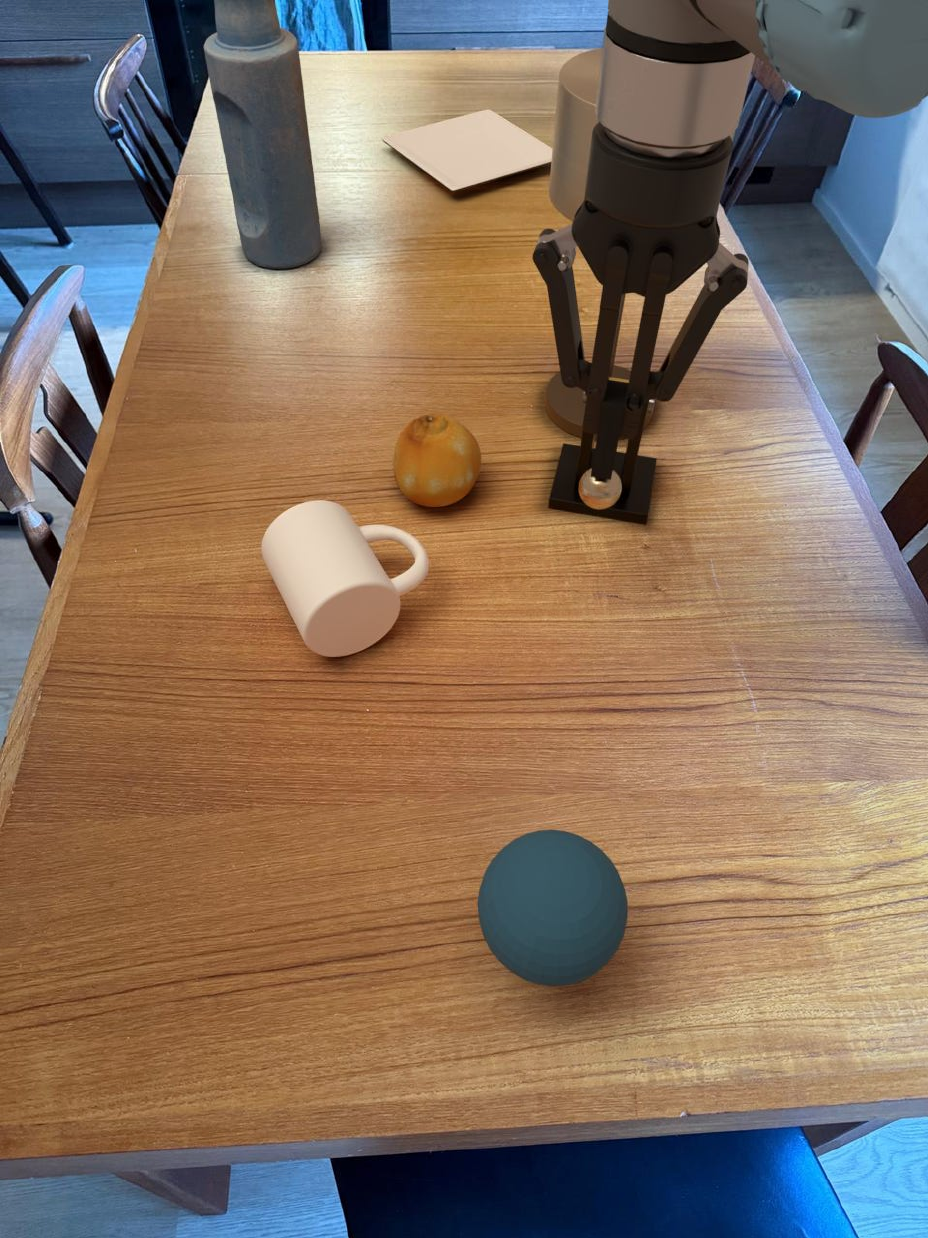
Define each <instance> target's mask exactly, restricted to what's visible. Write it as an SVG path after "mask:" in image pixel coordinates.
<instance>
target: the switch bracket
mask: <svg viewBox="0 0 928 1238" xmlns="http://www.w3.org/2000/svg"><path fill="white" fill-rule="evenodd" d="M654 371H655V370H650V372H654ZM586 399H587V396H586V394H585V392H583V398H582V403H586ZM654 402H655V403H656V399H651V400H648V401H647V402H645V403H644V405H643V408H642V412H641V417H640V421H639V426H638V431H637V435H636V436H635V437H634V439H633V440H632V439H627V443H626V444H627V445H626V450H625V452H621V451H616V456H615V461H614V466H613V470H614V471H615V472H616V473H617V474H618V476H619V478H620V480H621V484H622V491H621V495H620V497H619V499H618V500H617V502H616V503H615V504H613V505H612V506H610V507H608V508H606V509H594V508H591V507H589V506H588V505H586V504H585V503H584V502H583V500H582V499H581V497H580V494H579V482H580V479H581V477H582V476H583V474H584V473H585V472H586V471H588V470H589V469H591V468H592V465H593V459H594V453H595V447H594V446H595V443H596V442H595V435H596V434H592V433H586V432H584V429H583V431H582V438H580V445H577V444H571V443H565V442H563V444H562V446H561V450H560V454H559V459H558V461H557V466H556V470H555V474H554V478H553V482H552V486H551V490H550V494H549V497H548V505H547V508H548V509H553V510H559V511H563V512H564V511H565V512H569V513H577V514H582V515H588V516H592V517H593V516H594V517H598V518H599V517H600V518H604V519H605V518H606V519H611V520H615V521H616V520H617V521H623V522H629V523H634V524H639V525H645V526H646V525H647V523H648V519H649V514H650V513H649V512H650V507H651V502H652V500H651V499H652V495H653V487H654V481H655V475H656V474H655V473H656V468H657V462H658V460H657V459H658V458H657V457H652V456H646V455H640V454H639V451H640V446H641V441H642V437H643V432H644V429H645V428H644V423H645V418H646V414H647V413H652V412H653V413H654V411H653V407H654V408H655V406H654ZM643 428H644V429H643Z"/></svg>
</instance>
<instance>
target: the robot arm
mask: <svg viewBox="0 0 928 1238" xmlns="http://www.w3.org/2000/svg"><path fill="white" fill-rule="evenodd" d="M607 10H608V11H607V18H606V23H605V24H606V25H605V26H606V27H604V29H603V36H602V37H603V38H602V45H601V48H602V54H601V62H600V71H599V80H598V88H597V97H596V106H595V114H596V117H597V119H598V120H599V122H598V123H597V124H596V125H595V127H594V129H593V131H592V138H591V146H590V155H589V163H588V171H587V179H586V187H585V196H584V201H583V203H582V205H581V206H580V207H579V209H578V210H577V212H576V214H575V217H574V220H573V222H571V224H569V225H566V226H564V227H563V228H560V229H558V230H555V229H553V228H545V229H543V230H542V231H541V232H540V234H539V236H538V238H537V241H536V244H535V247H534V250H533V252H532V262H533V264H534V265H535V267H536V269H537V271H538V273H539V274H540V276H541V278H542V279H543V281H544V283H545V285H546V289H547V295H548V296H547V297H548V303H549V309H550V314H551V322H552V327H553V334H554V341H555V346H556V353H557V360H558V366H559V372H560V373H561V379H562V383H563V384H564V385H565V386H566V387H568V388H574V387H578V388H580V389H582V390H583V391H584V392H585V394H586V396H587V399H586V406H585V412H584V419H583V429H584V432H586V433H592V434H598V435H597V441H596V442H595V447H594V448H595V453H594V459H593V465H592V471H591V477H596V478H602V479H608V480H611V477H612V472H613V466H614V461H615V456H616V452H618V445H619V441H620V440H619V438H625V439H627V440H628V439H632V440H633V439H634V437H635V436H636V435H637V431H638V426H639V421H640V417H641V412H642V408H643V405H644V403H645V402H647V401H648V400H651V399H655V400H657V401H659V402H661V403H668V402H669V401H672V399H673V398H674V396H675V395H676V393H677V391H678V389H679V387H680V385H681V384H682V382H683V380H684V379H685V376H687V373H688V371H689V369H690V368H691V366H692V364H693V363H694V361H695V358H696V357H697V355H698V353H699V352H700V350H701V348H702V346H703V344H704V343H705V341H706V339H707V337H708V335H709V333H710V332H711V330H712V328H713V327H714V325H715V323H716V320H717V319H718V317H719V316H720V315H721V312H722V311H723V310H724V308H726V307H727V306H729V304H730V303H732V302H733V301H734V300H735V299H736V298H737V297H738V296H739V295H740V294H741V293H743V292H744V291H745V290H746V288H747V286H748V281H749V279H748V277H749V262H750V261H749V258H748V256H747V255H746V254H744V253H740V252H739V253H734V254H733V253H732V252H731V251H730V250H728V248H727V247H725V246H724V245H723V244H722V243H721V242H720V237H721V228H720V225H719V222H718V211H719V207H720V203H721V199H722V196H723V191H724V186H725V182H726V177H727V175H728V169H729V166H730V162H731V157H732V153H733V149H734V141H733V142H732V139H731V137H730V135H731V134H732V133H734V132H735V133H736V130H737V129H738V127H739V125H740V121H741V117H742V113H743V109H744V103H745V99H746V96H747V91H748V87H749V83H750V79H751V75H752V71H753V66H754V62H755V59H756V57H757V58H758V59H759V60H761V61H762V62H763V63H764V64H766V65H767V66H768V67H770V68H771V69H772V70H774V71H775V72H777V73H778V74H779V77H780V78H781V79H782V80H783V81H784V82H786V83H789V84H790V85H791V86H792V87H793V88H794V89H795V90H797V92H806V93H807V94H808V96H810V97H811V98H812V99H815V100H819V101H822V102H825V103H826V102H827V103H829V104H831V105H832V106H835V107H836V108H838V109H840V110H842V111H843V112H846V113H848V114H850V115H853V116H856V117H860V118H861V117H862V118H869V119H881V118H888V117H894V116H898V115H902V114H905V113H906V112H909V111H911V110H913V109H914V108H917V107H919V105H920V104H921V103H922V100H924V99H926V98H927V97H928V0H608V3H607ZM576 247H578V249H579V252H580V253H581V255H582V256H583V258H584V260H585V262H586V264H587V265H588V267H589V269H590V270H591V272H592V274H593V275H594V277H595V279H596V281H597V282H598V283H599V284H600V285H601V286H602V289H601V294H600V295H601V296H600V301H599V302H600V303H599V310H598V311H599V312H598V317H597V319H598V320H597V325H596V332H595V338H594V345H593V352H592V357H591V362H590V361H588V360H586V358H585V357H586V356H585V350H584V349H585V348H584V343H583V334H582V327H581V319H580V312H579V305H578V298H577V289H576V281H575V274H574V267H573V265H574V262H575V259H576V256H577V251H576ZM706 264H707V267H706V268H705V270H704V276H703V284H704V285H703V286H702V288H701V289H700V292H699V294H698V295H697V297H696V299H695V301H694V303H693V304H692V307H691V308H690V311H688V312H689V313H688V314H687V316H686V317H685V320H684V322H683V324H682V326H681V327H680V329H679V331H678V333H677V335H676V337H675V339H674V340H673V342H672V345H671V346H670V349H669V350H668V352H667V354H666V356H665V357H664V359H663V361H662V363H661V365H660V366H659V367H660V368H659V369H658V370H653V371H654V372H650V371H651V369H652V364H653V359H654V355H655V350H656V345H657V341H658V334H659V331H660V325H661V322H662V318H663V317H662V316H663V311H664V307H665V303H666V302H665V301H666V298H667V295H669V294H672V293H673V292H674V291H676V290H677V289H678V288H680V287H681V286H683V284H684V283H685V282H686V281H687V280H689V279H690V278H691V277H692V276H694V274H696V272H698V271H699V270H700V269H701V268H702V267H704V266H705V265H706ZM623 294H626V295H628V294H636V295H638V296H640V297H643V298H644V299H643V305H642V310H641V316H640V320H639V327H638V332H637V335H636V336H637V337H636V342H635V348H634V353H633V359H632V363H631V369H630V370H631V374H630V379H629V383H626V382H620V381H613V380H608V379H609V374H610V370H611V363H612V357H613V351H614V345H615V340H616V334H617V328H618V322H619V317H620V311H621V305H622V299H623Z"/></svg>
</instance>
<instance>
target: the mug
mask: <svg viewBox="0 0 928 1238" xmlns="http://www.w3.org/2000/svg"><path fill="white" fill-rule="evenodd" d="M381 541H393V542H396V543H398V544H400V545H402V546H403V547H404V548H405V549H406V550H408V551H409V552H410V554H411V555H412V557H413V558H414V563H413V564H412V566H411V567H409V568H408V570H405V571H404V572H402V573H401V574H399V575H397V576H395V577H393V578H389V576H388V574H387V572H386V571H385V570H384V568H383V566H382V564H381V563H380V561H379V559H378V558H377V556H376V555H375V553H374V551H373V549H372V548H371V546H370V545H369V544H370V543H375V542H381ZM260 551H261V557H262V559H263V562H264V563H265V566H266V568H267V570H268V571H269V574H270V576H271V578H272V580H273V582H274V584H275V586H276V587H277V590H278V591H279V594H280V596H281V599H282V600H283V602H284V604H285V606H286V608H287V610H288V612H289V614H290V616H291V618H292V620H293V622H294V624H295V627H296V628H297V630H298V632H299V635H300V637H301V638H302V640H303V643H304V644H305V647H307V648H308V649H309V650H310V651H311V652H312V653H314V654H316V655H319V656H322V657H328V658H329V657H330V658H337V657H338V658H339V657H346V656H350V655H353V654H356V653H359V652H361V651H364V650H365V649H368V648H369V647H371V646H373V645H374V644H376V643H377V642H379V641H380V640H381V639H383V637H384V636H385V635H387V634H388V633H389V631H390V630H391V629H392V628H393V626H394V625H395V624H396V621H397V620H398V618H399V615H400V612H401V605H402V604H401V598H400V597H401V596H403V595H406V594H407V593H410V592H411V591H413V590H415V589H416V588H417V587H419V586H420V585H421V584H422V583H423V582H424V580H425V579H426V578H427V576H428V574H429V570H430V560H429V556H428V553H427V551H426V549H425V547H424V546H423V544H422V543H421V542H420V541H419V540H418V539H417V538H416V537H415V536H413V534H411V533H409V532H407V531H405V530H403V529H400V528H399V527H395V526H391V525H386V524H368V525H362V526H358V525H357V523H356V521H355V520H354V518H353V517H352V515H351V513H350V512H349V511H348V509H347V508H345V507H344V506H342V505H341V504H339V503H337V502H335V501H331V500H324V499H323V500H321V499H317V500H309V501H305V502H302V503H299V504H296V505H294V506H292V507H290V508H288V509H286V510H285V511H283V512H282V513H280V514H279V515H278V516H277V517H276V518H275V519H274V520H273V521H272V522H271V523H270V524H269V526H268V527H267V528H266V530H265V533H264V534H263V537H262V539H261V545H260Z"/></svg>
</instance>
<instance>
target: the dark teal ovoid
mask: <svg viewBox="0 0 928 1238" xmlns="http://www.w3.org/2000/svg"><path fill="white" fill-rule="evenodd" d="M626 892H627V891H626V888H625V884H624V883H623V880H622V877H621V875H620V873H619V871H618V868H617V867H616V866H615V864H614V862H613V861H612V859H610V857H609V856H608V855H607V854H606V853H605V852H604V851H603V850H602V848H600V847H599V846H597V845H596V844H594V843H593V842H592V841H591V840H589V839H588V838H584V836H583V837H582V836H581V835H579V834H576V833H574V832H573V833H572V832H570V831H566V830H559V829H540V830H535V831H530V832H528V833H524V834H523V835H520V836H518V837H516V838H514V839H513V840H511V841H509V843H508V844H506V845H505V846H504V847H502V848H501V849H500V850H499V851H498V853H496V855H495V856H494V857H492V859H491V861H490V862H489V864H488V866H487V868H486V869H485V871H484V874H483V877H482V880H481V883H480V886H479V889H478V897H477V912H478V922H479V925H480V930H481V932H482V936H483V938H484V940H485V942H486V944H487V946H488V948H489V950H490V952H491V953H492V954H493V955H494V956H495V958H496V959H497V960H498V962H499V963H500V964H501V965H502V966H504V967H505V968H506V969H507V970H508V971H510V973H512V974H514V975H515V976H518V977H519V978H521V979H522V980H524V981H526V982H530V983H533V984H536V985H539V986H546V987H547V986H548V987H563V986H571V985H574V984H577V983H581V982H585V981H586V980H587V979H589V978H592V977H593V976H595V975H596V974H597V973H598V972H600V971H601V970H602V969H603V968H605V967H606V966H607V964H608V963H609V962H610V961H611V959H612V958H613V957H614V955H616V953H617V951H618V950H619V948H620V946H621V943H622V941H623V939H624V937H625V932H626V929H627V923H628V916H629V914H628V910H629V909H628V906H629V905H628V904H629V903H628V897H627V893H626Z"/></svg>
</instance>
